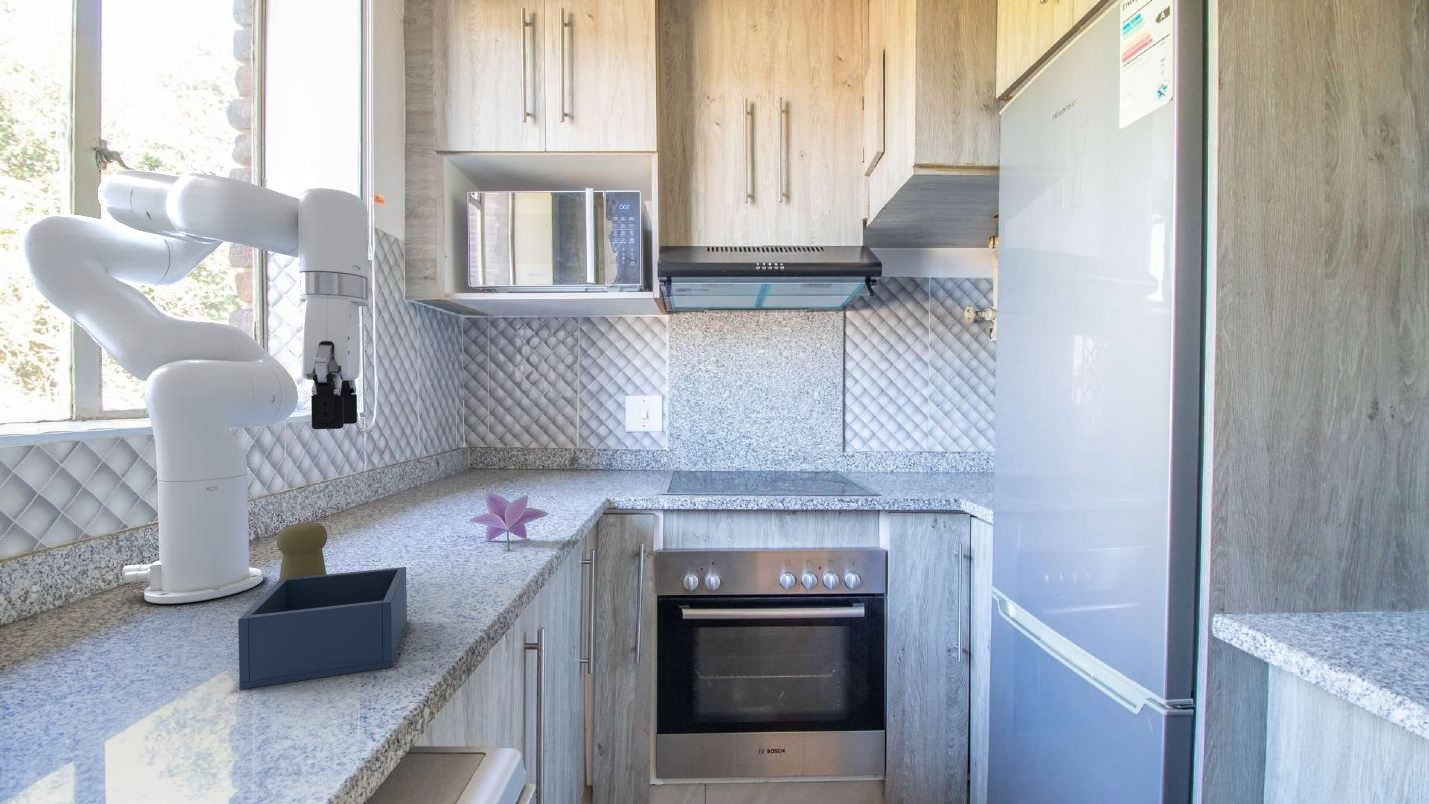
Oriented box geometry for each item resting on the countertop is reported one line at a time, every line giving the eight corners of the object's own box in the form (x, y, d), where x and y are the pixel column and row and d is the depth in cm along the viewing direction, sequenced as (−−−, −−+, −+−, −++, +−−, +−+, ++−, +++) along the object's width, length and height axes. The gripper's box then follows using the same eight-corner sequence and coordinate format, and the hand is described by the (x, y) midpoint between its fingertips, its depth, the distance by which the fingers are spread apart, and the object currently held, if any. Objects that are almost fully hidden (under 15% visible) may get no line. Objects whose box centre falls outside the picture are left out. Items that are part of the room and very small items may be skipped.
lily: (557, 547, 110) (550, 497, 113) (526, 536, 99) (519, 481, 103) (497, 565, 111) (492, 515, 115) (459, 557, 100) (455, 502, 104)
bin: (239, 689, 56) (237, 619, 56) (281, 637, 68) (280, 578, 68) (392, 667, 61) (391, 601, 60) (407, 621, 72) (406, 566, 72)
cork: (263, 616, 74) (261, 526, 74) (315, 600, 79) (313, 517, 79) (291, 625, 71) (289, 532, 71) (343, 608, 76) (341, 522, 76)
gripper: (315, 298, 84) (317, 422, 84) (279, 278, 68) (281, 432, 68) (377, 301, 86) (378, 421, 87) (357, 283, 70) (358, 430, 71)
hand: (336, 426), depth 77 cm, fingers open, 9 cm apart
